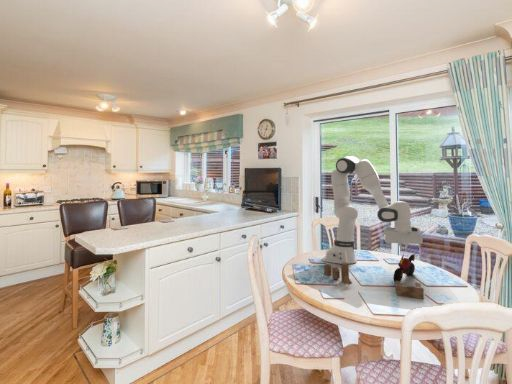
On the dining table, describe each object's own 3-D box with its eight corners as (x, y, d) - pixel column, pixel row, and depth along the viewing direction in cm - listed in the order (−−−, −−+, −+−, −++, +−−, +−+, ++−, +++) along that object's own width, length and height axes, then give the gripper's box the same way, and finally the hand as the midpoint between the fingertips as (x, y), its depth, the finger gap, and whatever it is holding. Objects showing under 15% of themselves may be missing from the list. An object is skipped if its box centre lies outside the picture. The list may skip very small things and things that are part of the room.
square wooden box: (397, 295, 132) (397, 285, 132) (395, 288, 142) (395, 278, 142) (423, 299, 128) (423, 288, 128) (419, 291, 138) (419, 281, 138)
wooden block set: (322, 278, 158) (321, 261, 158) (331, 274, 164) (331, 258, 163) (349, 288, 144) (348, 269, 143) (358, 283, 149) (357, 265, 148)
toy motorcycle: (400, 285, 146) (400, 256, 146) (390, 283, 150) (390, 254, 150) (418, 276, 162) (418, 249, 162) (409, 274, 166) (409, 248, 166)
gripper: (383, 228, 167) (384, 250, 167) (422, 228, 158) (423, 252, 158) (383, 226, 172) (384, 248, 172) (421, 227, 164) (421, 250, 164)
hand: (403, 250), depth 165 cm, fingers closed
